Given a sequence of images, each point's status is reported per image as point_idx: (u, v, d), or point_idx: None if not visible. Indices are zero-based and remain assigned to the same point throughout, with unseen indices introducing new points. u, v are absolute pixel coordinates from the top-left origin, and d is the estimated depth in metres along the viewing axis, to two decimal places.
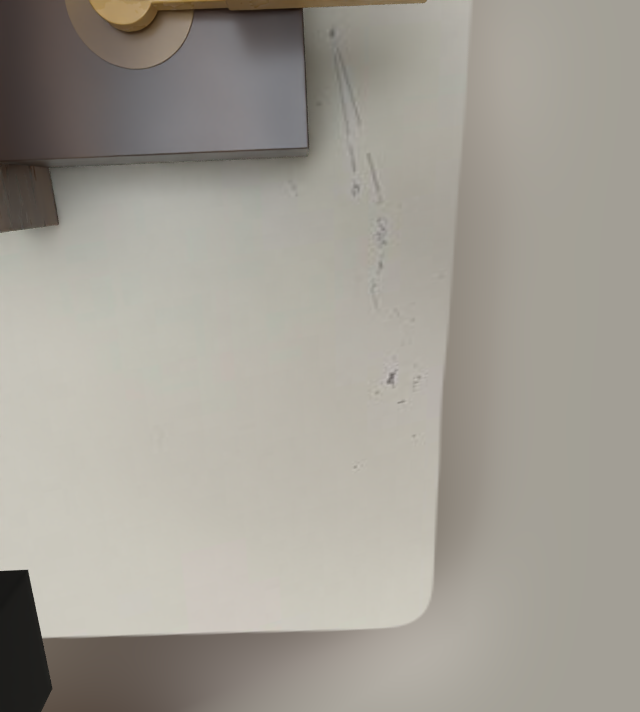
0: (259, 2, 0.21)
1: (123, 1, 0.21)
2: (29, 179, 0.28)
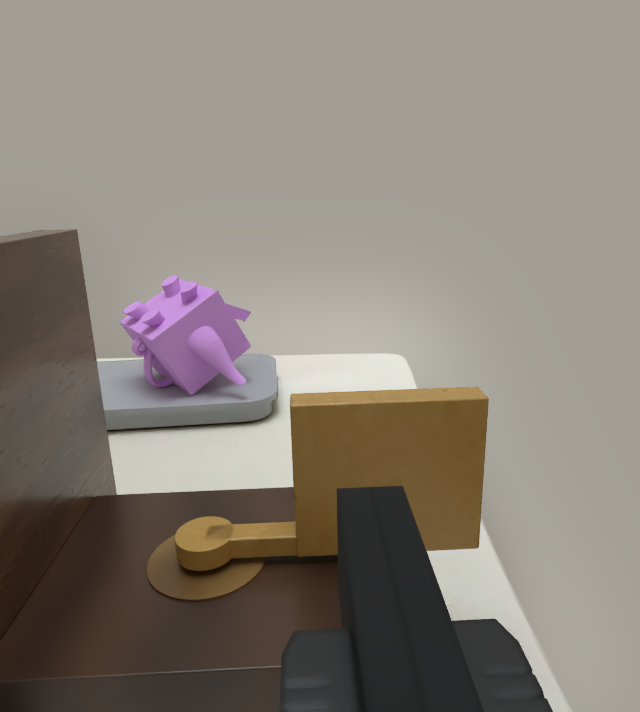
0: (326, 538, 0.24)
1: (205, 539, 0.24)
2: None
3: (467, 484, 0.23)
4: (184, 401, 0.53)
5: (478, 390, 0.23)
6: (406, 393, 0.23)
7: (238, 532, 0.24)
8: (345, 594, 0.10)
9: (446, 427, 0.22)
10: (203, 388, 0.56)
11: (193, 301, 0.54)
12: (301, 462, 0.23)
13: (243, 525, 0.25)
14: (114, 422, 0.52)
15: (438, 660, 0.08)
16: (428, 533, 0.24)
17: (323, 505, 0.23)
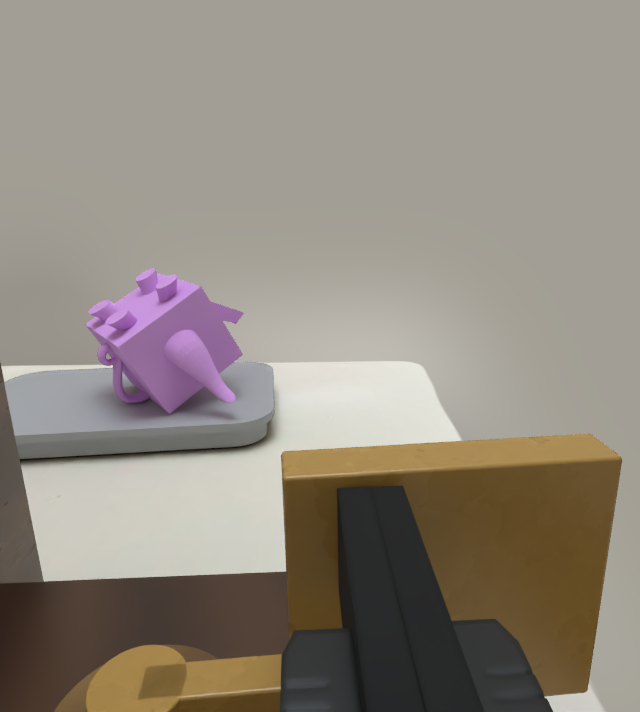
0: None
1: (137, 700, 0.14)
2: None
3: (577, 597, 0.14)
4: (159, 421, 0.43)
5: (596, 441, 0.14)
6: (478, 448, 0.13)
7: (195, 681, 0.14)
8: (345, 594, 0.10)
9: (549, 507, 0.13)
10: (184, 404, 0.47)
11: (172, 299, 0.44)
12: (302, 572, 0.13)
13: (204, 664, 0.15)
14: (73, 446, 0.43)
15: (438, 660, 0.08)
16: None
17: None
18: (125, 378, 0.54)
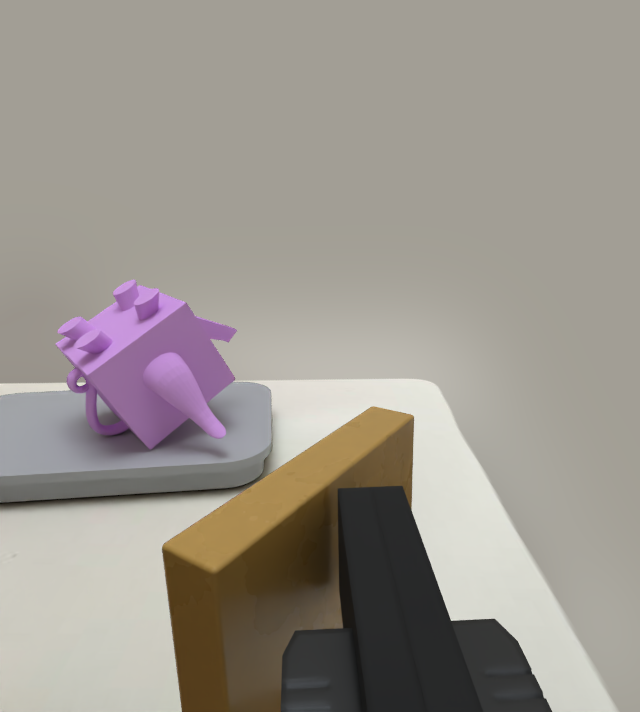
0: None
1: None
2: None
3: None
4: (138, 459, 0.37)
5: (385, 410, 0.16)
6: (328, 450, 0.14)
7: None
8: (346, 594, 0.10)
9: (387, 477, 0.15)
10: (169, 437, 0.41)
11: (153, 317, 0.38)
12: (238, 673, 0.10)
13: None
14: (37, 489, 0.37)
15: (437, 660, 0.08)
16: None
17: None
18: (104, 402, 0.48)
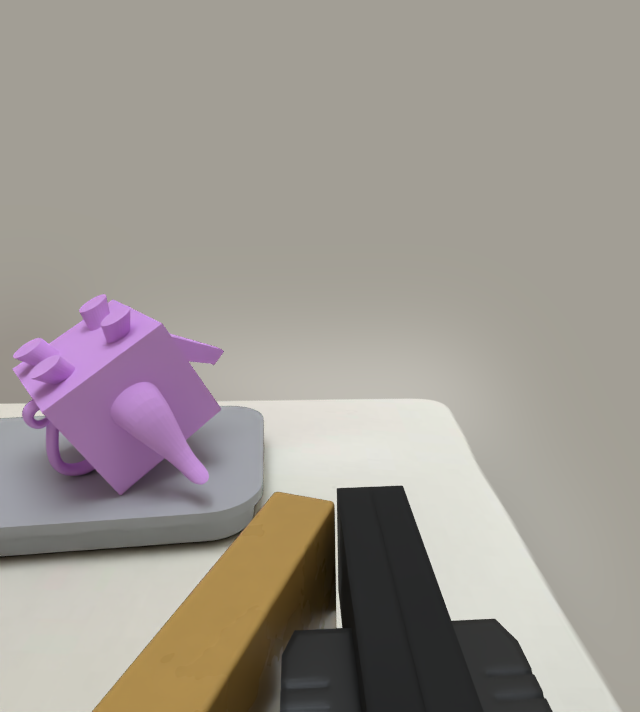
0: None
1: None
2: None
3: None
4: (105, 508, 0.32)
5: (294, 497, 0.12)
6: (223, 592, 0.09)
7: None
8: (345, 594, 0.10)
9: (308, 603, 0.10)
10: (143, 478, 0.35)
11: (123, 340, 0.32)
12: None
13: None
14: None
15: (438, 660, 0.08)
16: None
17: None
18: None
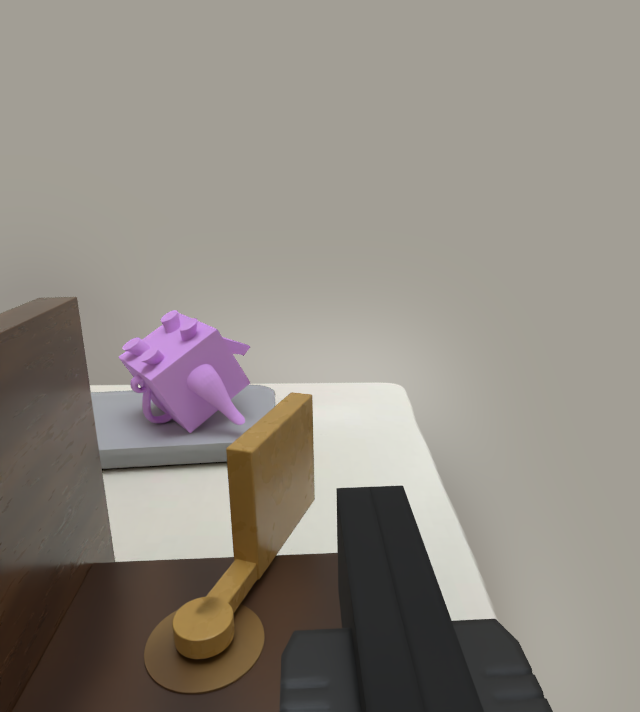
0: (269, 549, 0.28)
1: (214, 618, 0.24)
2: None
3: (310, 458, 0.33)
4: (182, 439, 0.53)
5: (298, 393, 0.33)
6: (277, 412, 0.30)
7: (221, 595, 0.25)
8: (345, 594, 0.10)
9: (302, 424, 0.32)
10: (202, 425, 0.56)
11: (193, 339, 0.53)
12: (257, 496, 0.27)
13: (214, 590, 0.26)
14: (112, 460, 0.52)
15: (438, 660, 0.08)
16: (301, 505, 0.32)
17: (267, 523, 0.28)
18: None
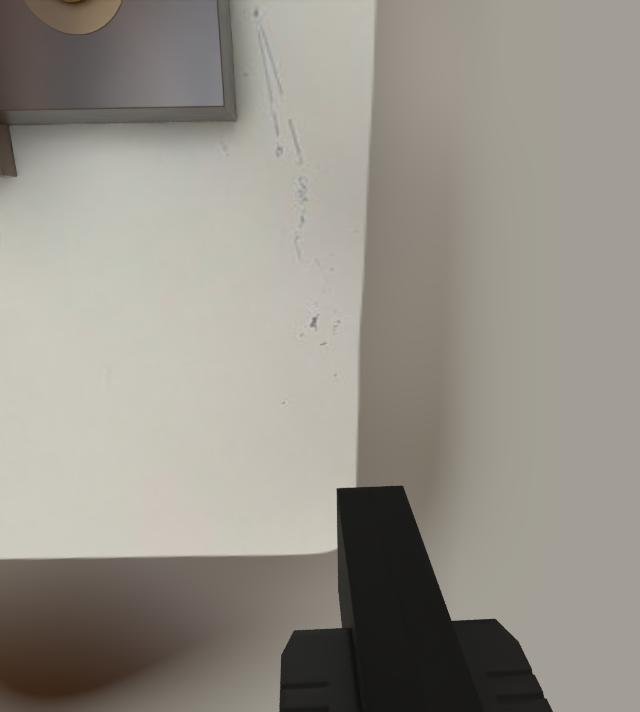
0: None
1: None
2: None
3: None
4: None
5: None
6: None
7: None
8: (345, 594, 0.10)
9: None
10: None
11: None
12: None
13: None
14: None
15: (438, 660, 0.08)
16: None
17: None
18: None
